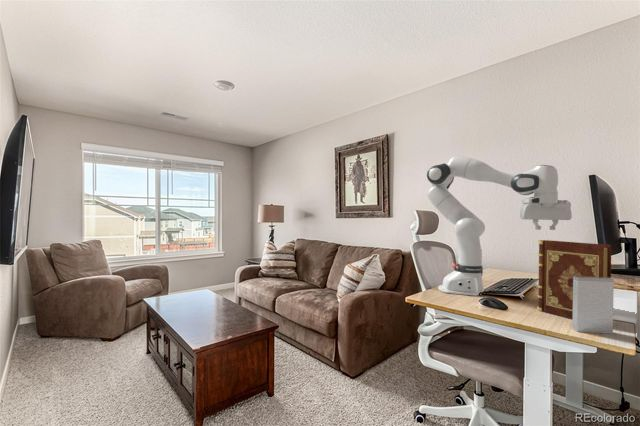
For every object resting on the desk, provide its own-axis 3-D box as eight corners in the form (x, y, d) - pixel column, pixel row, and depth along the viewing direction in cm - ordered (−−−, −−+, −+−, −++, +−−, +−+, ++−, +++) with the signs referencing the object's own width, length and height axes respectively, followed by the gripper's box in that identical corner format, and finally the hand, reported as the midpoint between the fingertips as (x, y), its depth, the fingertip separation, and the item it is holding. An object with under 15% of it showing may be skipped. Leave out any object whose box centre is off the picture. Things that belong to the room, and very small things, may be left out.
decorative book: (533, 309, 130) (534, 240, 129) (543, 306, 134) (544, 239, 133) (601, 327, 110) (603, 245, 110) (610, 323, 114) (611, 244, 114)
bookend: (577, 331, 106) (577, 277, 106) (572, 328, 108) (573, 275, 108) (612, 334, 104) (613, 278, 104) (607, 331, 106) (607, 277, 106)
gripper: (566, 200, 141) (565, 229, 141) (518, 200, 144) (518, 228, 144) (575, 199, 135) (574, 230, 135) (525, 199, 138) (525, 229, 138)
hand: (545, 229), depth 139 cm, fingers open, 5 cm apart
